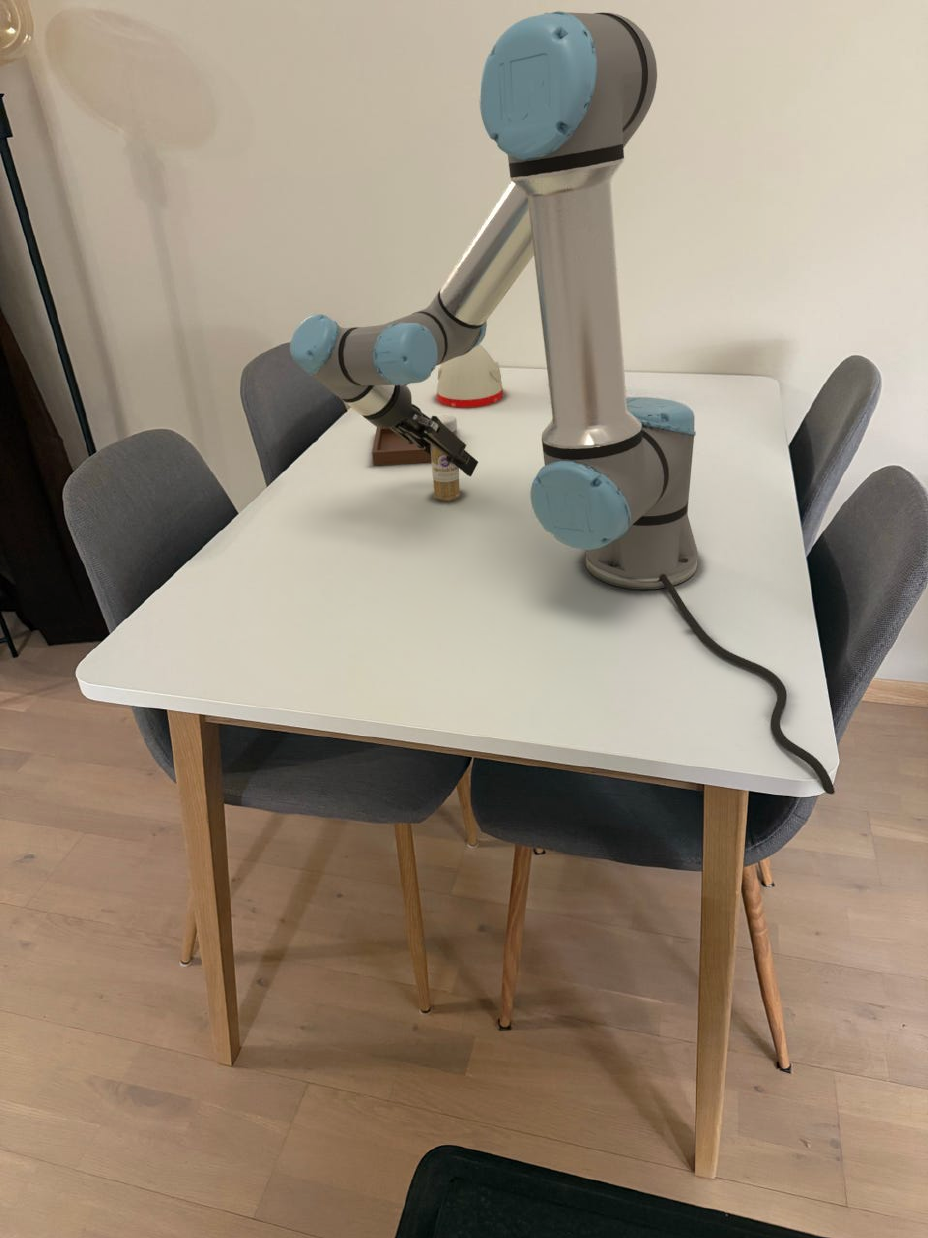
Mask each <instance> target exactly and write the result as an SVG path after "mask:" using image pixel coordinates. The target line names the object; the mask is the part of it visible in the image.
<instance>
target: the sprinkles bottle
mask: <svg viewBox="0 0 928 1238" xmlns="http://www.w3.org/2000/svg"><path fill="white" fill-rule="evenodd" d="M432 416H436V417H438V418H439V420H440V421H441V423H442V424H443V425H444V426H446V427H447V428H448V429H449V430H450V431H451V432H452V433H453V434H455V435H456V436H457V430H458V421H457V417H456V416H455V415H453V414H449V413H439V414H434V415H432ZM432 416H430V417H429V418H430V419H431V417H432ZM446 457H447V455H445V454H444V453H443V452H441V451H440V450H438V449H437V448H436V447H434V446H433V445H431V461H432V462H431V472H432V482H433V497H434V498H435V499H436V500H439V501H445V502H448V501H453V500H456V499H458V498H459V497H460V496H461V494H462V493H461V492H462V491H461V488H460V487H461V485H460V469H459V468H458V467H457V466H456V465H455V464H453V463H452V462H451V463H450V462H448V461H446V459H447V458H446Z"/></svg>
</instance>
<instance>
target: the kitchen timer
mask: <svg viewBox="0 0 928 1238" xmlns="http://www.w3.org/2000/svg"><path fill="white" fill-rule="evenodd" d="M437 380H438V381H437V386H436V396H437V401H438V403H440V404H442V405H444V406H447V407H452V408H465V409H467V408H468V409H469V408H478V407H485V406H488V405H492V404H495V403H496V402H497V403H498V402H499V401H500V400H501V399H502V398H503V382H502V374H501V370H500V364H499V361H494V359H493V357H492V356H491V354H490V353H489V351H488V350H487V349H486V348H485V347H484V346H483V345H481V343H480V344H479V345H478V346H476V347H475V348H473V349H472V350H471V351H470V352H468V353H467V354H465V355H462V356H458V357H455V358H453V359H451V360H448V361H446V362H444V363H441V364H440V367H438V371H437Z"/></svg>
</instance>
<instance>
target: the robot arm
mask: <svg viewBox="0 0 928 1238" xmlns="http://www.w3.org/2000/svg"><path fill="white" fill-rule="evenodd" d="M487 55H488V56H487V58H486V60H485V62H484V65H483V69H482V71H481V76H480V81H479V91H478V92H479V93H478V94H479V95H478V100H479V110H480V115H481V120H482V123H483V126H484V129H485V131H486V133H487V135H488V136H489V138H490V139H491V140H493V141H494V142H495V143H496V145H497V147H498V149H499V150H500V151H501V152H503V153H504V154H506V155H507V160H508V161H507V163H508V170H509V177H510V178H509V179H510V180H509V182H508V183H507V184H506V186H505V188H504V190H503V191H502V193H501V194H500V196H499V197H498V199H497V200H496V202H495V203H494V205H493V207H492V208H491V209H490V211H489V213H488V214H487V215H486V217H485V219H484V221H483V222H482V223H481V225H480V226H479V228H478V230H477V232H476V233H475V234H474V236H473V238H472V239H471V240H470V242H469V243H468V245H467V246H466V248H465V250H464V251H463V252H462V255H461V256H460V258H459V259H458V261H457V262H456V264H455V265H454V267H453V269H452V270H451V271H450V273H449V275H448V277H447V278H446V280H445V281H444V282H443V284H442V286H441V288H439V291H438V292H437V293H436V295H435V296H434V298H433V299H432V301H431V303H430V304H429V305H428V306H427V307H426V308H424V309H421V310H419V311H418V310H417V311H415V312H413V313H411V314H409V315H406V316H403V317H400V318H398V319H394V320H392V321H389V322H387V323H383V324H378V325H369V326H362V327H361V326H359V327H357V326H355V327H341V326H340V325H339V324H338V322H337V321H336V320H333V319H332V318H330V317H329V316H327V315H326V314H323V313H316V314H312V315H310V316H308V317H306V318H305V319H304V320H302V321H301V322H300V324H298V326H297V327H296V329H295V330H294V332H293V334H292V337H291V340H290V343H289V353H290V356H291V359H292V360H293V361H294V363H296V364H297V365H298V366H299V367H300V368H301V369H302V370H304V371H305V373H306V375H308V376H310V377H311V378H313V379H314V380H316V382H318V383H319V384H321V385H322V386H324V387H325V388H326V389H327V390H328V391H330V392H331V393H332V394H334V395H335V396H336V397H338V398H339V399H340V400H341V401H342V402H343V403H344V404H346V405H347V406H348V407H350V408H351V409H352V410H354V412H356V413H357V414H359V415H361V416H362V417H363V418H364V419H365V420H366V421H368V422H369V423H371V424H372V426H375V428H377V427H378V428H382V429H386V428H390V429H391V430H392V431H393V432H395V433H396V434H397V435H398V436H400V437H401V438H402V439H404V440H405V441H406V442H407V443H408V444H410V445H413V444H415V445H416V446H417V447H418V448H419V449H423V448H424V449H425V450H424V451H425V452H426V453H427V454H429V455H430V456H431V445H433V446H434V447H436V448H437V449H438V450H440V451H441V452H443V453H444V454H445V455H447V457H446V458H447V459H446V461H448V462H450V463H451V462H452V463H453V464H455V465H456V466H457V467H458V468H459V470H460V471H462V472H463V473H464V474H465V475H467V476H468V477H472V476H473V474H474V472H475V469H476V468H477V466H478V464H479V461H478V460H477V459H476V458H475V457H473V455H472V454H470V453H469V452H468V451H467V450H465V449H466V447H467V444H466V443H465V442H464V441H463V440H462V439H460V437H459V436H457V434H456V435H455V434H453V433H452V432H451V431H450V430H449V429H448V428H447V427H446V426H444V425H443V424H442V423H441V421H440V420H439V418H438V417H436V416H434V415H432V417H431V416H430V417H431V419H430V417H429V416H428V415H426V414H425V413H424V412H423V411H422V410H421V408H419V407H418V406H417V405H416V404H413V401H412V398H413V397H412V392H411V389H410V388H409V386H408V385H411V384H419V383H423V382H425V381H426V380H427V381H428V379H429V378H430V377H431V375H432V373H433V372H434V370H435V369H436V367H438V366H439V365H441V364H442V363H444V362H446V361H448V360H451V359H453V358H455V357H458V356H462V355H465V354H467V353H468V352H470V351H471V350H472V349H473V348H475V347H476V346H478V345H479V344H480V345H481V343H482V342H483V340H484V339H485V337H486V333H487V326H488V319H489V318H490V317H491V315H492V314H493V312H494V311H495V310H496V308H497V307H498V306H499V304H500V302H502V300H503V299H504V297H505V296H506V294H507V293H508V292H509V290H510V289H511V288H512V286H513V285H514V284H515V282H516V281H517V279H518V278H519V277H520V276H521V274H522V272H523V271H524V270H525V268H526V267H527V266H528V264H529V263H530V262H531V260H532V259H533V258H534V267H535V275H536V285H537V291H538V292H537V293H538V301H539V313H540V319H541V320H540V321H541V329H542V337H543V346H544V355H545V363H546V371H547V372H546V373H547V383H548V389H549V398H550V408H551V417H552V419H551V421H550V422H549V423H548V425H547V426H546V427H545V429H544V430H543V431H542V433H541V447H542V453H543V454H542V455H543V462H544V466H542V467H541V468H540V469H539V471H538V472H537V473H536V476H535V478H533V480H532V483H531V486H530V504H531V507H532V510H533V513H534V516H535V517H536V519H537V521H538V522H539V524H540V526H541V527H542V528H543V530H544V531H546V532H547V533H550V534H551V535H552V536H553V538H554V539H555V540H556V541H558V542H559V543H561V544H563V545H565V546H568V547H570V548H572V549H577V550H584V551H585V566H586V568H587V570H588V571H589V572H590V574H591V575H592V576H594V577H595V578H597V579H598V580H600V581H602V582H603V583H607V584H608V585H612V586H616V587H619V588H625V589H631V590H658V589H659V590H660V589H666V590H667V592H668V594H669V595H670V596H671V598H672V600H673V601H674V603H675V605H676V606H677V608H678V610H679V611H680V613H681V614H682V616H683V617H684V618H685V620H686V621H687V623H688V624H689V625H690V627H691V628H692V629H693V631H694V633H695V634H696V635H697V636H698V637H699V639H700V640H701V641H702V642H703V643H704V644H705V645H707V647H708V648H710V649H711V651H713V652H714V653H716V654H717V655H718V656H720V657H722V658H723V659H725V660H727V661H729V662H730V663H733V664H735V665H738V666H739V667H743V668H745V669H746V670H747V669H748V670H750V671H752V672H754V673H756V674H758V675H760V676H763V677H764V678H765V679H766V680H767V681H768V682H770V683H771V684H772V685H773V687H774V688H775V689H776V692H777V699H776V702H775V704H774V708H773V710H772V712H771V716H770V729H771V732H772V735H773V736H774V738H775V740H776V741H777V743H778V744H779V745H780V746H781V747H783V749H785V750H786V751H788V752H789V753H791V754H792V755H794V756H796V757H797V758H799V759H800V760H802V761H803V762H805V763H806V765H808V766H809V767H810V768H811V769H812V770H813V771H814V772H815V774H816V776H817V777H818V779H819V781H820V783H821V785H822V788H823V791H824V792H825V793H826V794H828V795H834V794H835V792H836V791H835V788H834V784H833V781H832V779H831V776H830V775H829V773H828V771H827V769H826V768H825V767H824V766H823V764H822V763H821V761H819V759H818V758H816V757H815V756H814V755H813V754H811V752H809V751H807V750H806V749H804V748H802V747H800V746H799V745H797V744H796V743H794V742H793V741H791V740H790V739H789V738H787V736H786V735H785V734H784V732H783V730H782V728H781V717H782V715H783V712H784V709H785V706H786V702H787V698H788V697H787V689H786V686H785V685H784V683H783V681H782V680H781V679H780V678H779V677H778V676H777V675H776V674H775V673H774V672H773V671H771V670H770V669H768V668H766V667H764V666H763V665H760V664H758V663H756V662H755V661H752V660H749V659H746V658H745V657H741V656H739V655H737V654H735V653H733V652H731V651H729V650H727V649H726V648H724V647H722V646H721V645H720V644H718V643H717V642H716V641H715V640H714V639H713V638H711V637H710V636H709V634H707V632H706V631H705V630H704V629H703V628H702V626H701V625H700V624H699V622H698V621H697V620H696V618H695V616H693V614H692V613H691V612H690V610H689V609H688V606H686V604H685V602H684V600H683V599H682V597H681V596H680V594H679V592H678V591H677V589H675V587H674V586H676V585H679V584H681V583H683V582H686V581H687V580H688V579H690V578H691V577H692V576H693V575H694V574H695V573H696V571H697V567H698V558H699V553H698V547H697V543H696V540H695V536H694V533H693V530H692V526H691V522H690V519H689V513H688V512H689V498H690V489H691V478H692V467H693V466H692V465H693V453H694V444H695V437H696V431H695V414H694V411H693V410H692V408H691V407H690V406H688V405H687V404H684V403H683V402H679V401H676V400H672V399H666V398H660V397H651V396H650V397H648V396H629V397H628V396H627V391H626V376H625V363H624V361H625V360H624V348H623V347H624V346H623V336H622V335H623V333H622V320H621V319H622V318H621V307H620V306H621V305H620V292H619V280H618V279H619V277H618V266H617V252H616V238H615V237H616V236H615V223H614V209H613V198H612V197H613V196H612V182H613V181H612V180H613V178H614V176H615V175H616V174H617V172H618V171H619V169H620V168H621V167H622V165H623V164H624V163H625V152H624V151H625V150H624V149H625V147H626V146H627V144H628V143H629V142H630V140H631V139H632V137H633V136H634V134H636V133H637V131H638V129H639V128H640V126H641V125H642V123H643V121H644V120H645V118H646V117H647V114H648V113H649V111H650V108H651V106H652V104H653V101H654V98H655V94H656V91H657V83H658V82H657V81H658V68H657V58H656V55H655V51H654V48H653V46H652V43H651V42H650V40H649V38H648V36H647V35H646V33H645V32H644V30H642V28H641V27H639V26H638V25H637V24H636V23H635V22H633V21H632V20H631V19H629V18H628V17H625V16H624V15H623V16H622V15H621V14H618V13H614V12H594V13H590V12H589V13H587V12H567V11H566V12H565V11H560V10H557V11H552V12H544V13H542V14H537V15H533V16H528V17H525V18H522V19H521V20H519V21H517V22H515V23H514V24H512V25H511V26H509V27H508V28H507V29H506V30H505V31H504V32H503V33H502V34H501V35H500V36H499V37H498V39H497V40H496V41H495V43H494V45H493V46H492V49H491V51H490V53H489V54H487Z"/></svg>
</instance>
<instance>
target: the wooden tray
mask: <svg viewBox="0 0 928 1238" xmlns="http://www.w3.org/2000/svg"><path fill="white" fill-rule="evenodd" d="M424 450H425V449H424V448H423V449H419V448H418V447H417V446H416V445H415V444H413V445H410V444H408V443H407V442H406V441H405V440H404V439H402V438H401V437H400V436H398V435H397V434H396V433H395V432H393V431H392V430H391V429H390V428H386V429H382V428H378V427H376V429H375V435H374V441H373V446H372V452H371V454H372V463H373V466H374V467H378V466H393V465H394V466H395V465H411V464H412V465H413V464H426V463H432V461H431V456H430V455H429V454H427V453H426V452H425V451H424Z"/></svg>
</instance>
